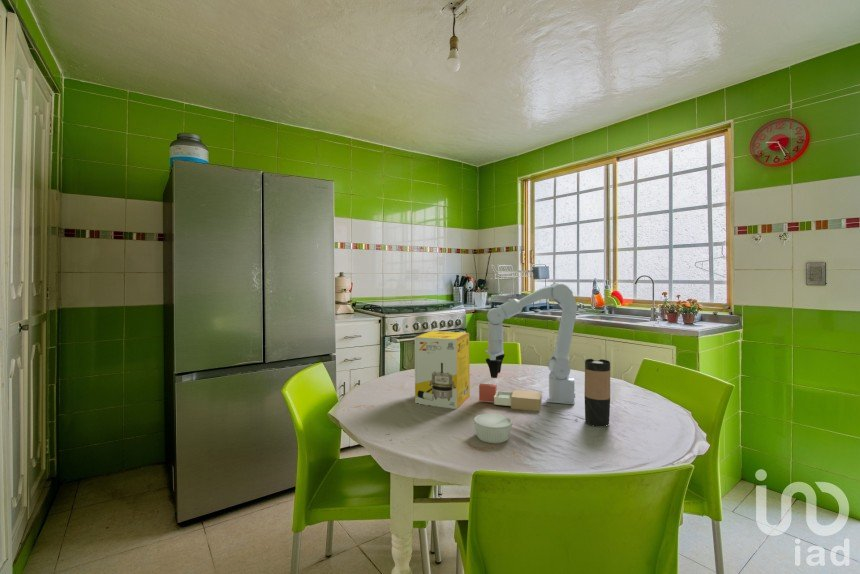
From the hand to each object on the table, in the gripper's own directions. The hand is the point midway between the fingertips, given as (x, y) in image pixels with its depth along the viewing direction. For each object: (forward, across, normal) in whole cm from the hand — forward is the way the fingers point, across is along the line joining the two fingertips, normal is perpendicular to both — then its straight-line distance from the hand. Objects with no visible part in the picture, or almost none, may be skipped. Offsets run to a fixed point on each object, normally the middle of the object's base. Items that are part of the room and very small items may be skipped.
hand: (495, 375), depth 154 cm
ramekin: (+10, +36, +5) cm, 37 cm away
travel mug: (+10, +15, +35) cm, 39 cm away
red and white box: (+9, +4, +2) cm, 10 cm away
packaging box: (+9, +6, -19) cm, 22 cm away
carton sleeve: (+9, +5, +12) cm, 16 cm away
